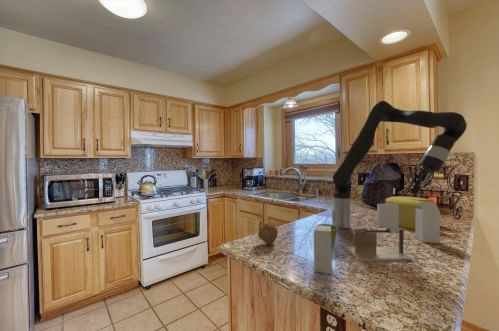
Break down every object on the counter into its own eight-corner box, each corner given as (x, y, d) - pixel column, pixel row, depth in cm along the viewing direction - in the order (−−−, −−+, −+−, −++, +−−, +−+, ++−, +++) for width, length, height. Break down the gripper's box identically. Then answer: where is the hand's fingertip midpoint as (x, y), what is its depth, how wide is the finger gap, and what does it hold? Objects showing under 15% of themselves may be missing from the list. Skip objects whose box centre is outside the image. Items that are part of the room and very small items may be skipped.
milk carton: (439, 243, 107) (440, 203, 106) (422, 242, 108) (423, 203, 108) (430, 238, 114) (431, 200, 113) (415, 237, 115) (415, 200, 115)
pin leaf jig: (358, 260, 88) (359, 233, 88) (345, 248, 100) (346, 224, 100) (412, 261, 88) (413, 233, 88) (393, 248, 100) (393, 224, 100)
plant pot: (337, 243, 107) (338, 225, 107) (338, 250, 98) (339, 230, 98) (317, 240, 110) (317, 223, 110) (316, 247, 101) (316, 228, 101)
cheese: (448, 229, 129) (449, 203, 128) (402, 229, 129) (402, 203, 129) (415, 217, 155) (415, 195, 154) (377, 217, 155) (377, 195, 155)
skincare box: (331, 274, 78) (331, 232, 77) (313, 271, 80) (313, 230, 80) (331, 264, 86) (332, 225, 85) (315, 261, 88) (315, 223, 87)
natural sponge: (255, 246, 103) (255, 224, 103) (261, 240, 111) (261, 220, 111) (275, 249, 100) (275, 227, 99) (279, 242, 108) (279, 221, 108)
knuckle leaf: (379, 233, 93) (380, 204, 92) (375, 231, 95) (376, 203, 95) (399, 233, 93) (399, 204, 92) (394, 231, 95) (395, 203, 95)
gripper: (438, 155, 90) (416, 193, 92) (449, 166, 97) (428, 201, 98) (418, 150, 96) (398, 186, 98) (429, 161, 103) (410, 194, 105)
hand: (413, 193), depth 98 cm, fingers closed
